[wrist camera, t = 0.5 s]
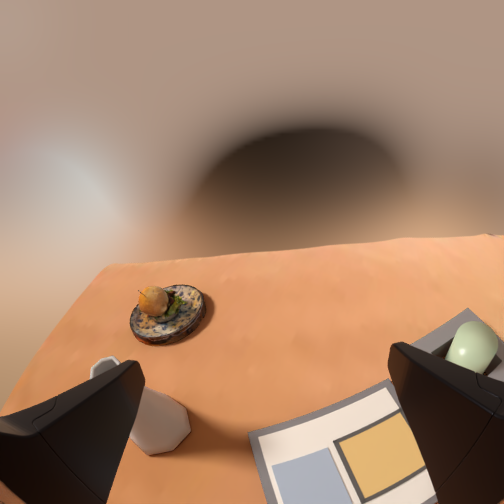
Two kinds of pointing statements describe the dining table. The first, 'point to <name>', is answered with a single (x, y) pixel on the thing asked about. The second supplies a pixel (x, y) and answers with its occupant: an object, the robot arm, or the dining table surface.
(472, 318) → the button housing
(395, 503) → the colouring board
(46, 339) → the dining table surface
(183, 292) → the plate of food
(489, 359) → the button
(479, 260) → the dining table surface
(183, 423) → the flask
